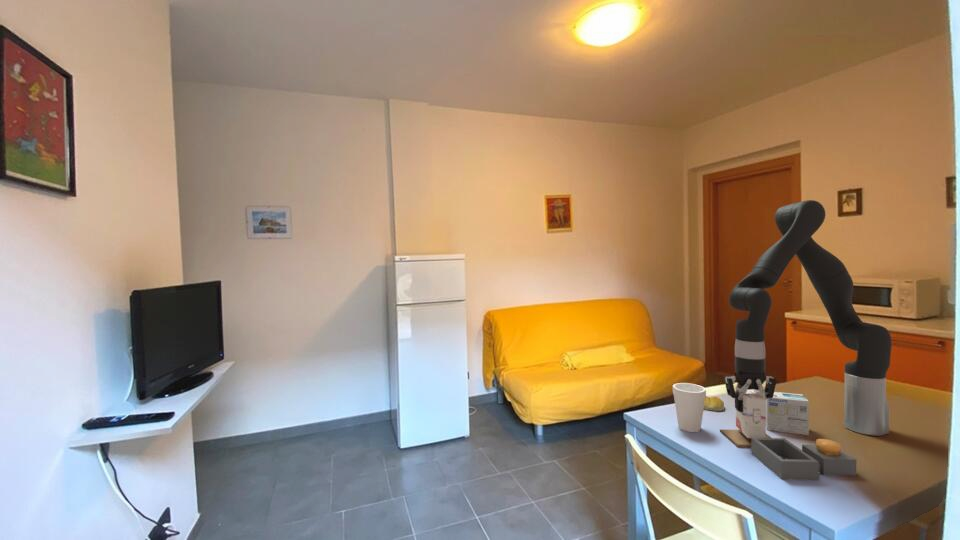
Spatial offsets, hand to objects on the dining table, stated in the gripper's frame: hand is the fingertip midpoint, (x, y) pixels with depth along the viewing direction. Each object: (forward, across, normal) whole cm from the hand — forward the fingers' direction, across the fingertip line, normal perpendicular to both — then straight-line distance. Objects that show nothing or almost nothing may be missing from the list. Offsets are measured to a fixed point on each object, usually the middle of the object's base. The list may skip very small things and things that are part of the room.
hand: (750, 411), depth 120 cm
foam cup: (+9, +14, -8) cm, 18 cm away
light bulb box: (+9, -15, -8) cm, 19 cm away
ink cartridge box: (+7, 0, 0) cm, 7 cm away
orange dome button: (+8, -11, +15) cm, 20 cm away
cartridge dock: (+9, -5, +15) cm, 18 cm away
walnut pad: (+9, 0, 0) cm, 9 cm away
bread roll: (+9, -1, -26) cm, 27 cm away
